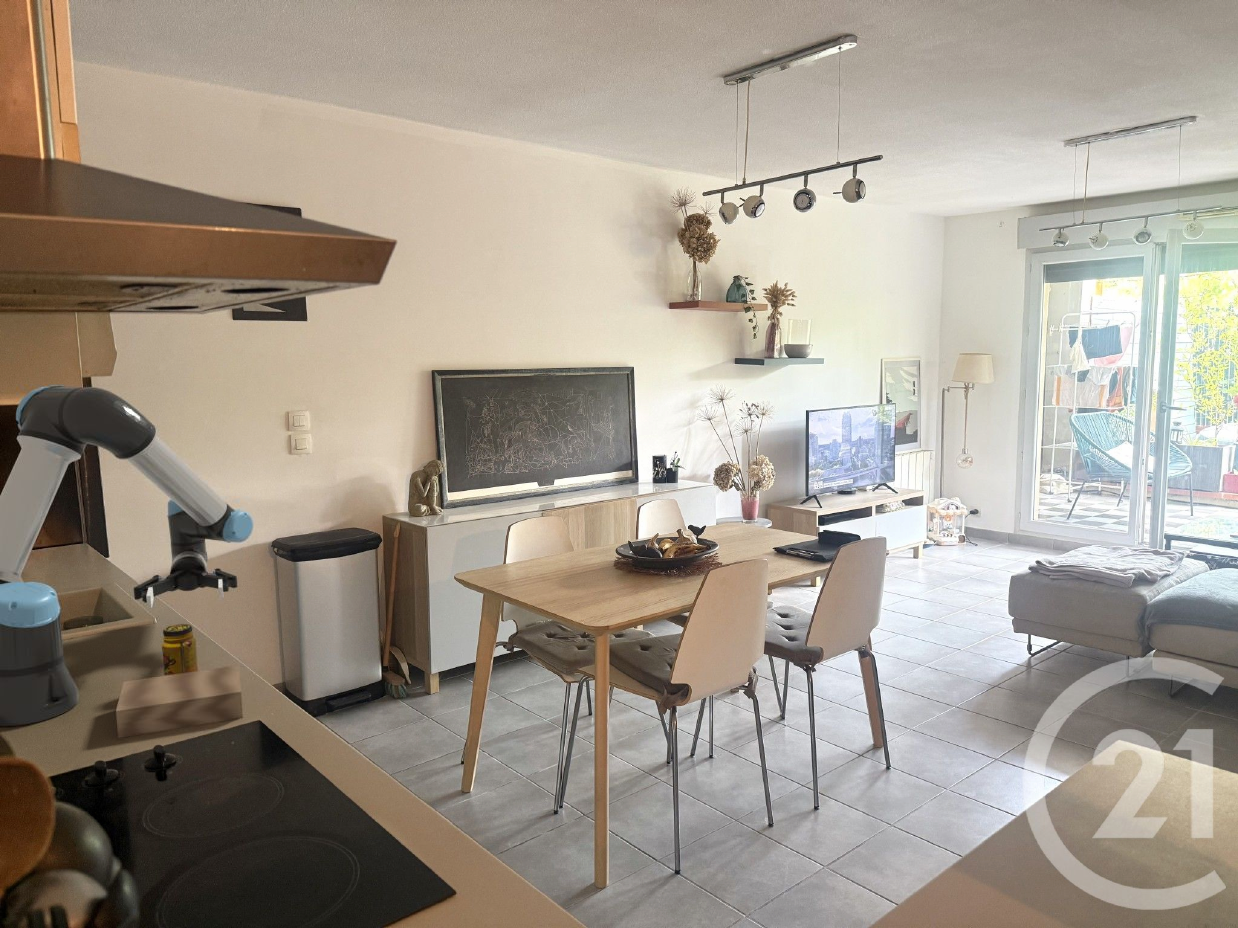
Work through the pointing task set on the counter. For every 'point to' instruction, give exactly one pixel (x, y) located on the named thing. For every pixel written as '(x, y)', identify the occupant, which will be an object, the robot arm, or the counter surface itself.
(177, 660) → the condiment
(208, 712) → the stand
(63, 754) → the counter surface
